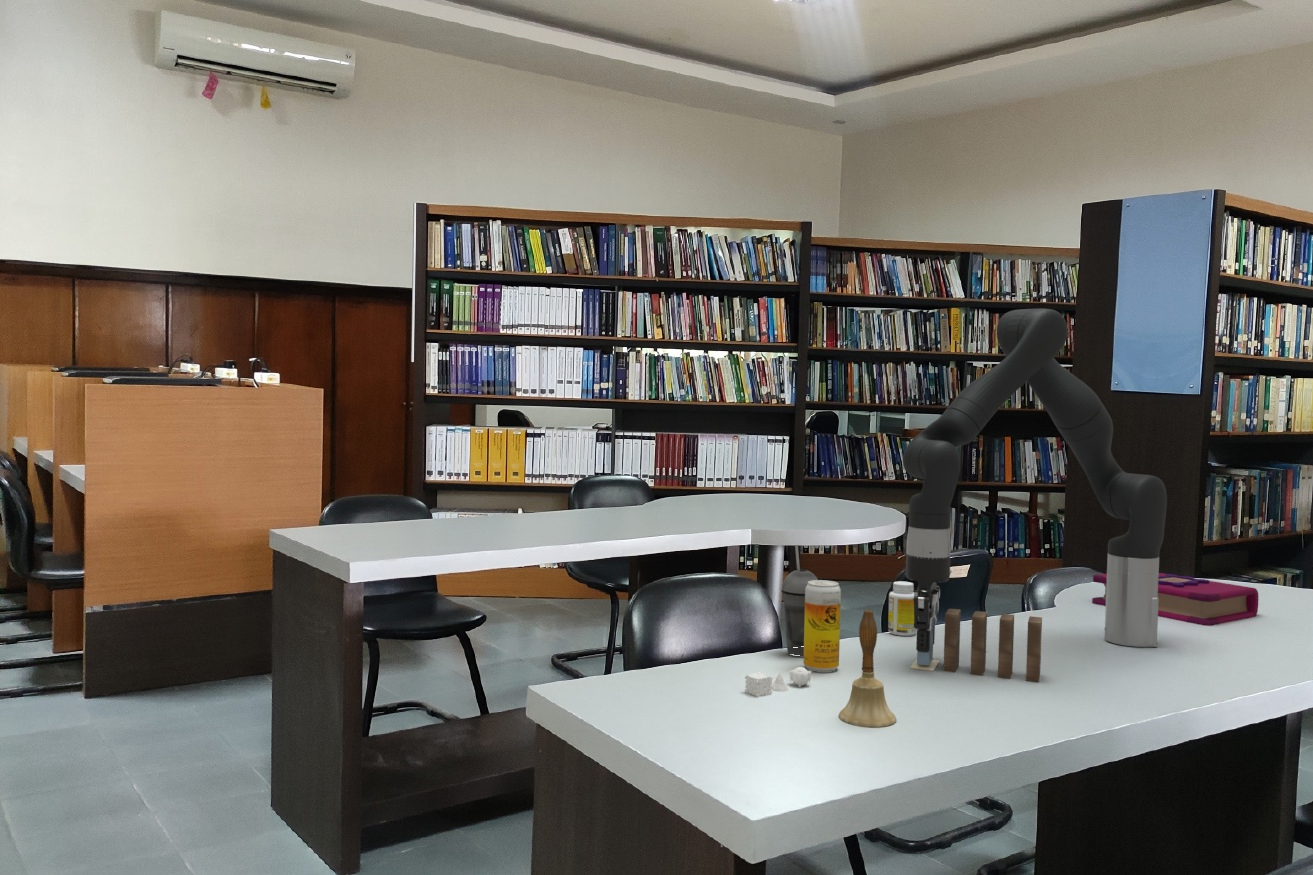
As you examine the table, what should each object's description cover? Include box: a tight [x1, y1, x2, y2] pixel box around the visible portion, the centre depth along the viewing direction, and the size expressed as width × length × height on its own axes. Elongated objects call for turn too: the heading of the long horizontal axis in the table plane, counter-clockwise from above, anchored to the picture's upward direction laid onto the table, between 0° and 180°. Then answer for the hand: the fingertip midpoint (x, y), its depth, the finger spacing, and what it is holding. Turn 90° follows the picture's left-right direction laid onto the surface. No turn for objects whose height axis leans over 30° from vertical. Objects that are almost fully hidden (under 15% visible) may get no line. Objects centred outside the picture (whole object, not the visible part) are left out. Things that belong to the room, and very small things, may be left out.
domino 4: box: [997, 613, 1015, 680], centre depth 174 cm, size 2×5×10 cm, turn 157°
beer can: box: [803, 579, 842, 673], centre depth 175 cm, size 6×6×15 cm
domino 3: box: [970, 610, 988, 676], centre depth 175 cm, size 2×5×10 cm, turn 156°
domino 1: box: [916, 608, 935, 665], centre depth 179 cm, size 2×5×10 cm, turn 157°
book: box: [1091, 572, 1259, 627], centre depth 233 cm, size 21×28×8 cm
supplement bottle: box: [887, 580, 917, 637], centre depth 203 cm, size 6×6×10 cm
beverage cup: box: [781, 544, 819, 656], centre depth 185 cm, size 7×7×20 cm
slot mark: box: [910, 657, 940, 672], centre depth 179 cm, size 4×7×1 cm, turn 157°
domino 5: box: [1025, 615, 1043, 683], centre depth 172 cm, size 2×5×10 cm, turn 157°
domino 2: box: [942, 608, 962, 673], centre depth 177 cm, size 2×5×10 cm, turn 156°
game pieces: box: [744, 666, 812, 698], centre depth 163 cm, size 12×3×3 cm, turn 124°
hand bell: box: [838, 609, 897, 728], centre depth 148 cm, size 8×8×16 cm
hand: (925, 647), depth 179 cm, fingers closed on domino 1, 5 cm apart
